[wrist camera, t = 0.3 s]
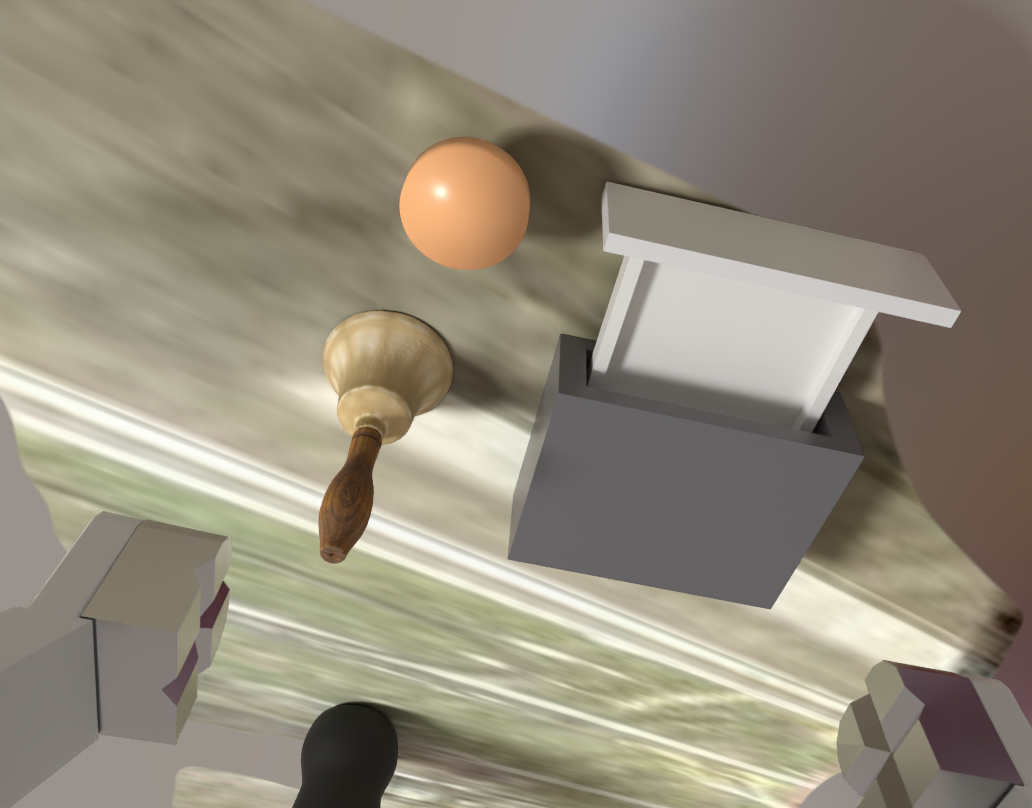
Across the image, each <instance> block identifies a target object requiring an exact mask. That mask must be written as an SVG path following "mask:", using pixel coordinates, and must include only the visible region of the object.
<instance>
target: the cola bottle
mask: <svg viewBox="0 0 1032 808" xmlns="http://www.w3.org/2000/svg"><path fill="white" fill-rule="evenodd" d="M397 758H398V742H397V736H396V732H395V729H394V727H393V725H392V723H391V722H390V721H389V720H388V719H387V718H386V717H385V716H384V715H382V714H381V713H379V712H377V711H375V710H373V709H371V708H368V707H364V706H359V705H341V706H336V707H333V708H330V709H328V710H326V711H324V712H323V713H322V714H321V715H320V716H319V717H318V718H317V719H316V720H315V722H314V723H313V725H312V726H311V728H310V730H309V732H308V734H307V736H306V738H305V741H304V744H303V747H302V753H301V768H302V786H301V789H300V791H299V793H298V796H297V798H296V800H295V803H294V805H293V807H292V808H380V804H381V797H382V795H383V793H384V791H385V789H386V787H387V786H388V784H389V782H390V780H391V778H392V776H393V774H394V771H395V768H396V765H397Z"/></svg>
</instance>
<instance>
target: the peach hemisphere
mask: <svg viewBox="0 0 1032 808" xmlns="http://www.w3.org/2000/svg"><path fill="white" fill-rule="evenodd" d="M529 211H530V190H529V186H528V182H527V180H526V177H525V175H524V173H523V171H522V169H521V168H520V166H519V165H518V163H517V162H516V161H515V160H514V159H513V158H512V157H511V156H510V155H509V154H508V153H507V152H505V151H504V150H503V149H501V148H500V147H498V146H496V145H494V144H492V143H490V142H488V141H485V140H481V139H477V138H471V137H458V138H451V139H447V140H443V141H441V142H438V143H436V144H434V145H432V146H430V147H429V148H428V149H426V150H425V151H424V152H423V153H422V154H421V155H420V156H419V157H418V158H417V159H416V160H415V162H414V163H413V165H412V167H411V168H410V170H409V173H408V176H407V178H406V181H405V183H404V186H403V189H402V192H401V196H400V216H401V220H402V224H403V226H404V229H405V231H406V233H407V235H408V237H409V238H410V240H411V241H412V243H413V244H414V245H415V246H416V247H417V248H418V249H419V250H420V251H421V252H422V253H423V254H424V255H426V256H427V257H429V258H430V259H432V260H433V261H435V262H437V263H439V264H442V265H444V266H447V267H451V268H455V269H461V270H475V269H481V268H486V267H489V266H492V265H494V264H497V263H499V262H501V261H502V260H504V259H505V258H507V257H508V256H509V255H510V254H511V253H513V251H514V250H515V249H516V248H517V247H518V245H519V244H520V242H521V241H522V239H523V237H524V235H525V232H526V229H527V225H528V219H529Z"/></svg>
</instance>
